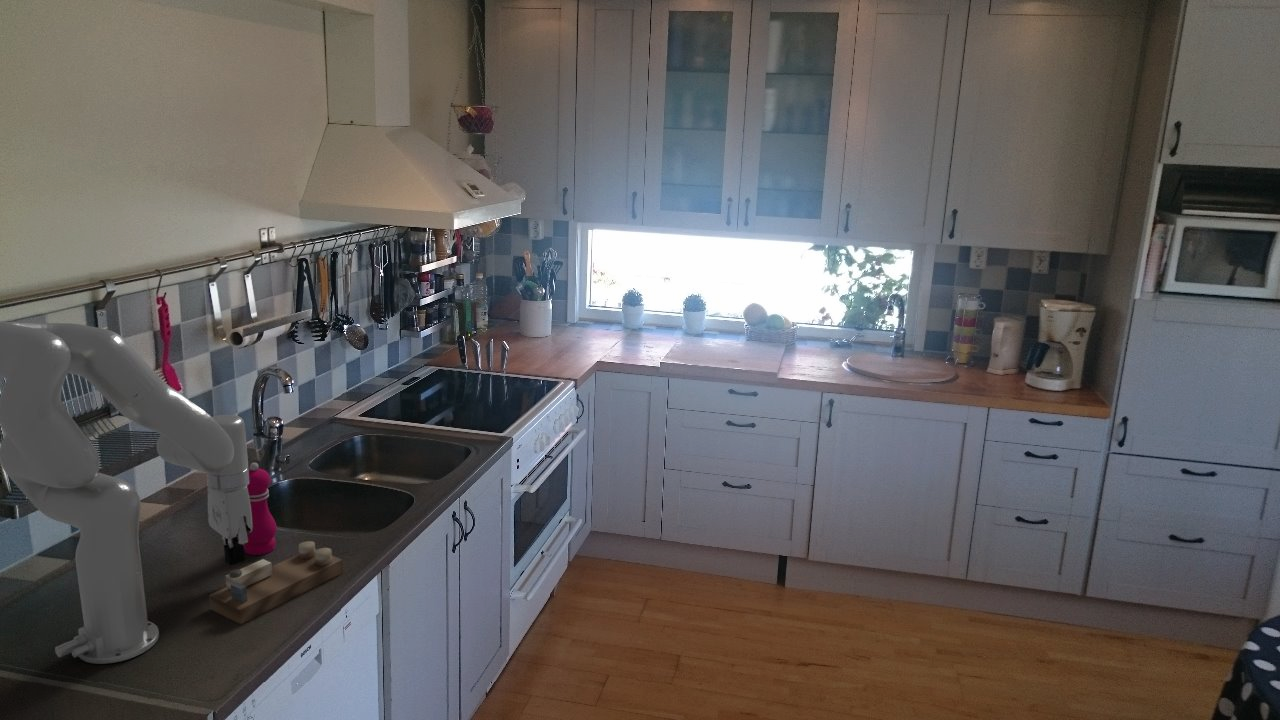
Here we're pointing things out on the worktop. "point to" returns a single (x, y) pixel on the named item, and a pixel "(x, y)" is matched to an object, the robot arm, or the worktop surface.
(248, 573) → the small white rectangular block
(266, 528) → the pepper mill
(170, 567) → the worktop surface
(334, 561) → the rectangular wooden board
